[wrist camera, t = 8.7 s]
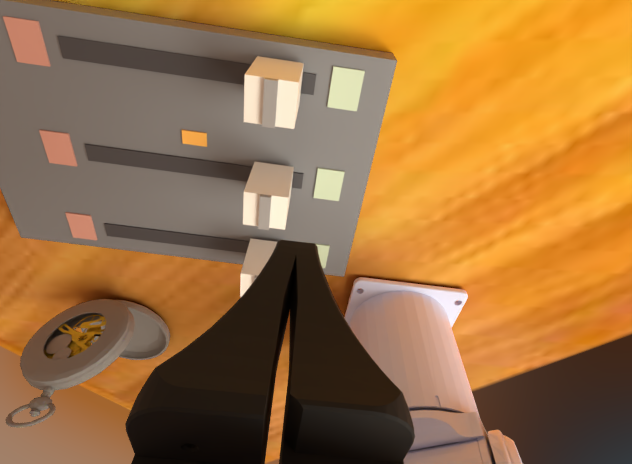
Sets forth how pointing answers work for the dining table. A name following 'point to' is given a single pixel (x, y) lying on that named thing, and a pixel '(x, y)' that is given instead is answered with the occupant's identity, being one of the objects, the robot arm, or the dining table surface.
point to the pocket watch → (87, 347)
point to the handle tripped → (267, 196)
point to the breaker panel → (176, 132)
